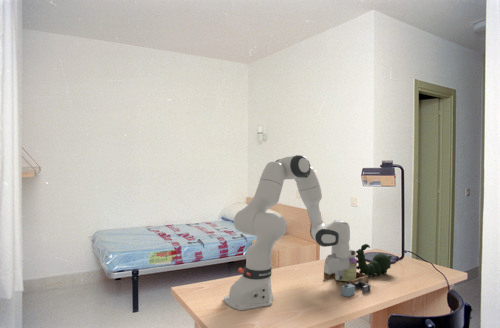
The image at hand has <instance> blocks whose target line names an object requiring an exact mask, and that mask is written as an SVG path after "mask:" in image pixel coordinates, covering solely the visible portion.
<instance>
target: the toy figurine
mask: <svg viewBox="0 0 500 328" xmlns="http://www.w3.org/2000/svg"><path fill="white" fill-rule="evenodd" d="M367 248H368V249H370V248H371V246H370V244H367V243H365V244H363V245H361V247H360V248H359V249H358V250H355V251H356V255H355V257H356V258H357V264H358V265H357V267H356V270H359V273H362V274H365V275H367V276H368V277H369V276H370V277H371V278H374V277H376V275H377V276H381V275H382V274H387V272H388V270H389V269H391V264H392V262H391V259H392V257H393V256H392V255H387V254H385V253H381V252H380V253H377V254H375V255H374V256H373V258H372V260H371V261H369V263H367V261H366V256H365V250H366V249H367Z"/></svg>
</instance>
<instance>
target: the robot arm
mask: <svg viewBox="0 0 500 328" xmlns="http://www.w3.org/2000/svg"><path fill="white" fill-rule="evenodd" d="M308 159H309V158H307V157H306V156H305V155H298V154H297V155H294V156H293V155H292V156H291V155H290V156H285V157H283V158H279V159H276V160H275V161H270V162H267V163H266V165H265V166H264V169H263V171H262V173H261V176H260V177H259V178H260V179H259V181H258V185H257V187H256V190H255V193H254V195H253V197H252V200H251V201H250V202H249V203H248V204H247V205H246V206H244V208H242V209H241V210H239V211H238V212H236V214H235V216H234V218H233V226H234V228H235V230H236V231H238V232H241V233H242V234H244V235H248V236H256V240H255V243H253V244H251V245H249V246H248V247H247V249H246V253H245V254H246V258H245V259H246V260H245V261H246V263H245V266H244V268H242V267H239V268H238V271H237V272H239V273H241V274H242V275H241V276H240V277H238V279H237V280H236V281H234V283H233V284H231V286H230V288H229V292H228V293H229V294H228V295H226V296H224V297H223V301H224V303H225V304H226V305H227V306H229V307H230V308H233V309H234V310H238V311H244V310H245V311H246V310H252V309H256V308H257V309H258V308H262V307H268V306H271V305H273V301H274V294H273V291H272V290H273V289H272V282H271V281H272V279H271V278H272V277H271V276H272V266H271V265H272V251H273V248H274V246H275V244H276V243H277V241H278V240H280V239H281V238H283V236H285V233H286V232H287V226H288V225H287V221H286V218H285V217H284V216H281V215H279V214H276V213H273V212H267V211H268V210H269V209H270V208H272V207H274V206H276V205H277V204H278V202H279V201H280V197H281V193H282V191H283V187H284V186H283V185H284V181H285V180H294V182H295V183H296V187H297V190H298V194H299V196H300V199H301V201H302V202H303V204H304V206H305V208H306V210H307V214H308V217H309V221H310V230H309V233H310V238H312V240H314V241H315V242H316V244H317V245H318V246H321V247H322V248H323V247H331V254H328V255H327V256H326V257H325V260H324V266H323V273H324V272H325V273H327V274H333V273H335V275H336V279H337V280H336V281H340V280H341V279H343V275H344V272H345V270H348V269H349V266H350V262H349V260H350V259H355V257H356V255H357V253H356V251H357V250H353V249H350V240H351V230H350V224H349V223H348V222H346V221H344V220H341V219H340V220H339V219H335V220H333V221H332V222H330V223H329V224H326V223H325V222H324V220H323V217H322V214H321V211H320V201H321V200H322V198H323V197H322V189H321V184H320V182H319V179H318V177H317V174H316V172H315V171H314V168H313V167H312V166H311V163H310V161H309V160H308Z"/></svg>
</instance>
